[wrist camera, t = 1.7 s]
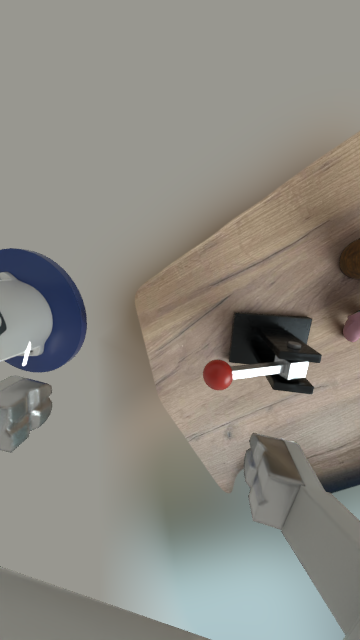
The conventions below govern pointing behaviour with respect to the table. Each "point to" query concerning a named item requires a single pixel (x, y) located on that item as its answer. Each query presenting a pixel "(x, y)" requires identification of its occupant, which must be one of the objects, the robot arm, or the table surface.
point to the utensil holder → (351, 260)
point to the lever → (251, 371)
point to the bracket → (273, 345)
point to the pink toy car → (352, 327)
